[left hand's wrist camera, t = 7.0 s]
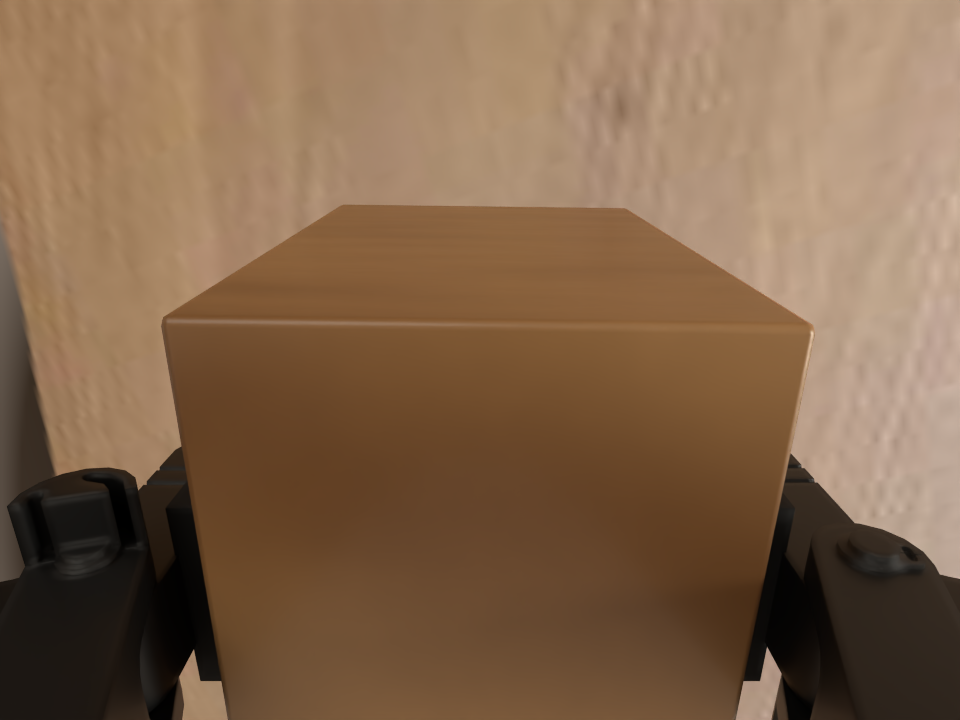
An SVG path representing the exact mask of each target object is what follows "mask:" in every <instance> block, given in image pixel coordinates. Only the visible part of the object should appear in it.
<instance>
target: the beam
mask: <svg viewBox="0 0 960 720" xmlns="http://www.w3.org/2000/svg"><path fill="white" fill-rule="evenodd" d="M161 327H162V333H163V339H164V345H165V351H166V357H167V363H168V368H169V374H170V380H171V386H172V392H173V398H174V404H175V410H176V416H177V422H178V427H179V433H180V439H181V445H182V451H183V457H184V463H185V469H186V475H187V480H188V486H189V492H190V498H191V504H192V510H193V516H194V522H195V528H196V534H197V539H198V545H199V551H200V557H201V563H202V569H203V575H204V581H205V587H206V593H207V598H208V604H209V610H210V616H211V622H212V628H213V634H214V640H215V646H216V652H217V657H218V663H219V669H220V675H221V681H222V687H223V693H224V699H225V705H226V710H227V716H228V720H735V719H736V715H737V710H738V705H739V700H740V695H741V690H742V685H743V681H744V676H745V671H746V666H747V661H748V656H749V651H750V647H751V642H752V637H753V632H754V627H755V622H756V617H757V613H758V608H759V603H760V598H761V593H762V588H763V583H764V579H765V574H766V569H767V564H768V559H769V554H770V549H771V545H772V540H773V535H774V530H775V525H776V520H777V515H778V511H779V506H780V501H781V496H782V491H783V486H784V481H785V477H786V472H787V467H788V462H789V457H790V452H791V448H792V443H793V438H794V433H795V428H796V423H797V418H798V414H799V409H800V404H801V399H802V394H803V389H804V384H805V380H806V375H807V370H808V365H809V360H810V355H811V350H812V346H813V341H814V336H815V332H814V327H813V325H812V324H810V323H809V322H807V321H805V320H804V319H802V318H801V317H799V316H797V315H796V314H794V313H793V312H791V311H789V310H788V309H786V308H785V307H783V306H781V305H780V304H778V303H777V302H775V301H773V300H772V299H770V298H769V297H767V296H765V295H764V294H762V293H761V292H759V291H757V290H756V289H754V288H752V287H751V286H749V285H748V284H746V283H744V282H743V281H741V280H740V279H738V278H736V277H735V276H733V275H732V274H730V273H728V272H727V271H725V270H724V269H722V268H720V267H719V266H717V265H716V264H714V263H712V262H711V261H709V260H708V259H706V258H704V257H703V256H701V255H699V254H698V253H696V252H695V251H693V250H691V249H690V248H688V247H687V246H685V245H683V244H682V243H680V242H679V241H677V240H675V239H674V238H672V237H671V236H669V235H667V234H666V233H664V232H663V231H661V230H659V229H658V228H656V227H655V226H653V225H651V224H650V223H648V222H646V221H645V220H643V219H642V218H640V217H638V216H637V215H635V214H634V213H632V212H630V211H629V210H627V209H625V208H554V207H476V206H398V205H342V206H340V207H338V208H336V209H335V210H333V211H332V212H330V213H329V214H327V215H325V216H324V217H322V218H321V219H319V220H317V221H316V222H314V223H313V224H311V225H309V226H308V227H306V228H305V229H303V230H301V231H300V232H298V233H297V234H295V235H294V236H292V237H290V238H289V239H287V240H286V241H284V242H282V243H281V244H279V245H278V246H276V247H274V248H273V249H271V250H270V251H268V252H266V253H265V254H263V255H262V256H260V257H258V258H257V259H255V260H254V261H252V262H251V263H249V264H247V265H246V266H244V267H243V268H241V269H239V270H238V271H236V272H235V273H233V274H231V275H230V276H228V277H227V278H225V279H223V280H222V281H220V282H219V283H217V284H216V285H214V286H212V287H211V288H209V289H208V290H206V291H204V292H203V293H201V294H200V295H198V296H196V297H195V298H193V299H192V300H190V301H188V302H187V303H185V304H184V305H182V306H180V307H179V308H177V309H176V310H174V311H173V312H171V313H169V314H168V315H166V316H165V317H164V318H163V320H162V326H161Z"/></svg>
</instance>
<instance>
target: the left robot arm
mask: <svg viewBox="0 0 960 720" xmlns="http://www.w3.org/2000/svg"><path fill="white" fill-rule="evenodd" d="M7 508H8V512H9V515H10V518H11V521H12V525H13V528H14V531H15V534H16V538H17V541H18V544H19V548H20V551H21V554H22V557H23V561H24V564H25V568H24V570H23V572H22V574H21V576H20V578H17V579H13V580H8V581H3V582H0V720H182V716H183V708H184V701H183V694H182V688H181V684H180V679H179V676H180V674H181V672H182V670H183V668H184V666H185V665H186V663H187V661H188V659H189V657H190V655H191V653H192V651H193V650H194V651H195V656H196V661H197V666H198V671H199V676H200V681H221V675H220V669H219V663H218V657H217V652H216V646H215V640H214V634H213V628H212V622H211V616H210V610H209V604H208V598H207V593H206V587H205V581H204V575H203V569H202V563H201V557H200V551H199V545H198V539H197V534H196V528H195V522H194V516H193V510H192V504H191V498H190V492H189V486H188V480H187V475H186V469H185V463H184V457H183V451H182V446H181V447H180V448H178V449H176V450H175V451H174V452H173V453H172V454H171V455H170V456H169V458H168V459H167V460H166V461H165V462H164V463H163V464H162V465H161V466H160V470H159V471H156V472H155V473H154V474H153V475H152V476H151V477H150V478H149V480H148V481H147V485H143V486H142V487H141V488H140V489H139V491H138V488H137V483H136V479H135V477H134V476H132V475H131V474H130V473H128V472H127V471H125V470H120V469H114V468H91V469H83V470H79V471H74V472H69V473H65V474H61V475H59V476H56V477H53V478H51V479H48V480H45V481H42V482H40V483H38V484H36V485H34V486H33V487H31V488H29V489H27V490H26V491H24V492H22V493H20V494H19V495H18V496H17V497H16V498H15V499H14V500H13V501H12V502H11V503H10V504H9V505H8V506H7ZM767 647H768V649H769V651H770V653H771V655H772V656H773V658H774V660H775V662H776V664H777V666H778V668H779V669H780V671H781V673H782V675H781V679H780V684H779V688H778V693H777V697H776V702H775V706H774V711H773V715H772V720H960V579H957V578H952V577H948V576H944V575H940V574H939V572H938V571H937V569H936V567H935V565H934V564H933V563H932V562H931V560H930V559H929V558H928V557H927V556H926V554H925V553H924V552H923V551H921V550H920V549H918V548H917V547H915V546H914V545H912V544H911V543H910V542H908V541H907V540H905V539H903V538H901V537H898V536H896V535H894V534H892V533H889V532H887V531H885V530H882V529H878V528H874V527H870V526H866V525H862V524H855V523H854V522H853V521H852V520H851V519H850V518H849V516H848V515H847V514H846V513H845V512H844V511H843V510H842V509H841V508H840V507H839V506H838V504H837V503H836V502H835V501H834V500H833V499H832V498H831V497H830V496H829V495H828V494H827V492H826V491H825V490H824V489H823V488H822V487H821V486H820V485H819V484H818V483H814V478H813V477H812V476H811V475H810V474H809V473H808V472H807V471H806V470H805V468H801V464H800V463H799V462H798V461H797V460H796V459H795V457H794V456H793V455H792V454H791V453H790V457H789V462H788V467H787V472H786V477H785V481H784V486H783V491H782V496H781V501H780V506H779V511H778V515H777V520H776V525H775V530H774V535H773V540H772V545H771V549H770V554H769V559H768V564H767V569H766V574H765V579H764V583H763V588H762V593H761V598H760V603H759V608H758V613H757V617H756V622H755V627H754V632H753V637H752V642H751V647H750V651H749V656H748V661H747V666H746V671H745V676H744V681H760V678H761V673H762V668H763V664H764V659H765V654H766V649H767Z"/></svg>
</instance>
